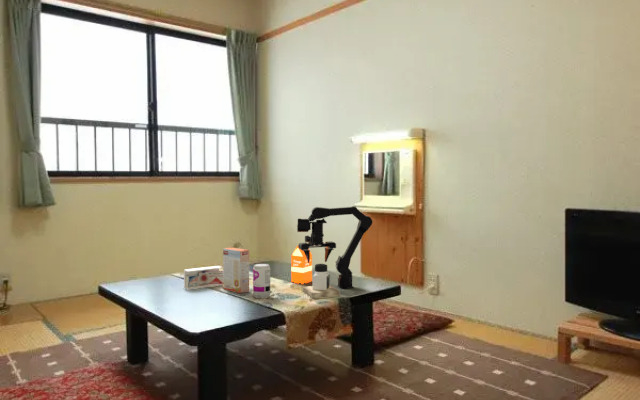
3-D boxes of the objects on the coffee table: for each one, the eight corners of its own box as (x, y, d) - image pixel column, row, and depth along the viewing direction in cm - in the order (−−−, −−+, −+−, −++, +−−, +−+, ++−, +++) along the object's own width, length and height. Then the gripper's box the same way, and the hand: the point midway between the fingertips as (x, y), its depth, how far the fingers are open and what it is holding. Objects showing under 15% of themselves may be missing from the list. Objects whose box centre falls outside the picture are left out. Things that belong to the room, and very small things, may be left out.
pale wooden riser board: (328, 289, 248) (328, 284, 248) (339, 296, 235) (339, 290, 235) (302, 291, 243) (302, 286, 243) (312, 298, 230) (312, 293, 230)
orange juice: (312, 281, 268) (312, 244, 267) (303, 284, 260) (303, 246, 259) (300, 279, 272) (300, 243, 271) (291, 282, 265) (291, 245, 264)
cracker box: (250, 291, 243) (249, 249, 242) (240, 293, 239) (239, 251, 238) (232, 287, 253) (232, 246, 252) (222, 289, 248) (222, 247, 247)
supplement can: (256, 299, 228) (256, 267, 228) (250, 295, 236) (250, 264, 235) (273, 297, 232) (272, 265, 231) (266, 293, 239) (266, 262, 239)
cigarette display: (187, 289, 247) (187, 271, 247) (184, 287, 252) (183, 269, 251) (224, 284, 259) (224, 267, 258) (220, 282, 263) (220, 265, 263)
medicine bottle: (326, 290, 235) (326, 265, 234) (312, 290, 236) (312, 265, 236) (329, 287, 242) (329, 263, 241) (315, 286, 243) (315, 262, 243)
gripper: (328, 229, 262) (328, 258, 262) (295, 230, 255) (294, 260, 256) (336, 231, 251) (336, 262, 252) (301, 233, 245) (301, 264, 245)
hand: (317, 262), depth 252 cm, fingers open, 9 cm apart
